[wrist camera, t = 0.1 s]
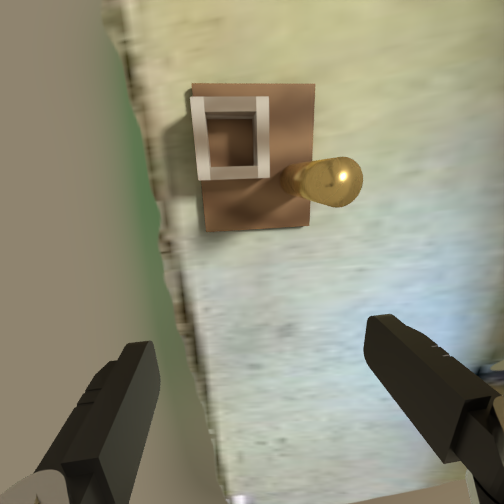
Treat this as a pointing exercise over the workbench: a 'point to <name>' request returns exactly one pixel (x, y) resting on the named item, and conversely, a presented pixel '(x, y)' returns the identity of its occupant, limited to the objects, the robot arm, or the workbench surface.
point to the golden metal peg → (324, 181)
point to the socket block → (251, 152)
